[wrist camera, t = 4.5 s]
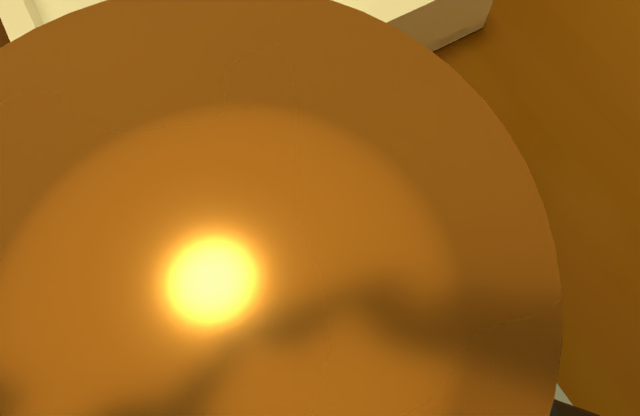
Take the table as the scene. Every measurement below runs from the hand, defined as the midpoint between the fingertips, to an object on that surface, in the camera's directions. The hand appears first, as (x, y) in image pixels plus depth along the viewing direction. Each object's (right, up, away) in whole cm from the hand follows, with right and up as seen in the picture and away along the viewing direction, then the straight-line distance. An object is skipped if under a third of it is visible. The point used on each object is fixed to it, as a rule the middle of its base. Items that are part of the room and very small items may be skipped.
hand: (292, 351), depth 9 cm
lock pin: (0, -4, +8) cm, 9 cm away
